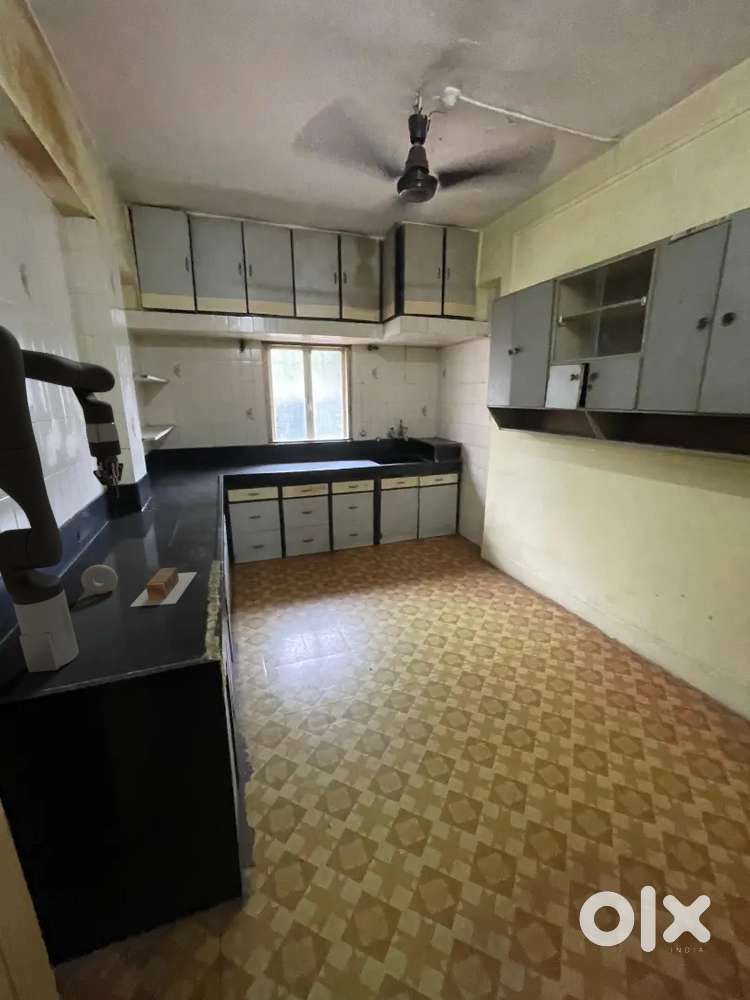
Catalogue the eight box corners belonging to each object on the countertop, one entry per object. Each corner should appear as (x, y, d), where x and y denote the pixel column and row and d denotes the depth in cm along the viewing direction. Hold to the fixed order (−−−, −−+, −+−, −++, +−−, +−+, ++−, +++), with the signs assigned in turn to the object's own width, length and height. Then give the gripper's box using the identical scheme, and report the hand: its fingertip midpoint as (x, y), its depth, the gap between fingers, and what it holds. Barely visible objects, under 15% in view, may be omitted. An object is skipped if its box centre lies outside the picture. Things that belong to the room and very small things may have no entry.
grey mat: (175, 604, 122) (175, 603, 122) (129, 608, 121) (129, 606, 120) (197, 573, 143) (197, 572, 143) (158, 575, 142) (158, 574, 142)
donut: (82, 598, 127) (76, 569, 124) (87, 593, 130) (80, 564, 127) (118, 594, 129) (112, 565, 127) (121, 589, 132) (116, 560, 130)
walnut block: (179, 581, 136) (165, 598, 125) (163, 582, 136) (148, 599, 124) (176, 567, 135) (163, 583, 124) (161, 568, 134) (146, 585, 123)
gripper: (101, 437, 122) (112, 492, 126) (75, 442, 109) (88, 504, 114) (128, 436, 123) (137, 491, 127) (105, 441, 110) (117, 502, 115)
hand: (114, 497), depth 120 cm, fingers closed
